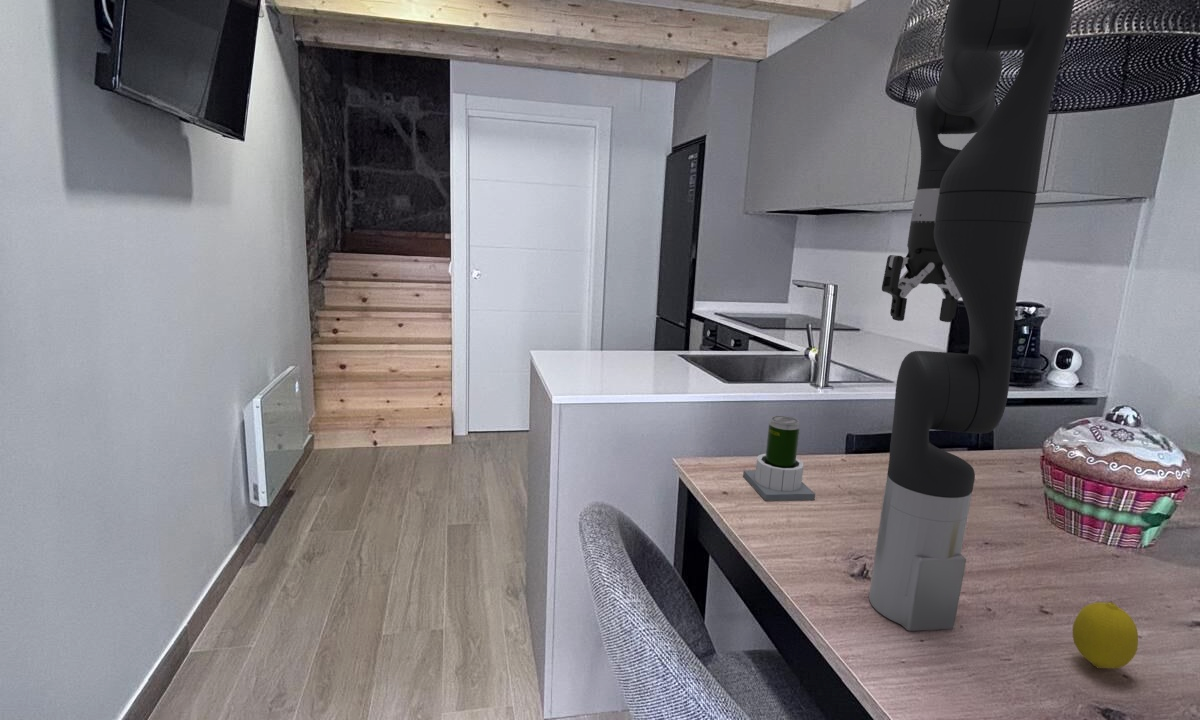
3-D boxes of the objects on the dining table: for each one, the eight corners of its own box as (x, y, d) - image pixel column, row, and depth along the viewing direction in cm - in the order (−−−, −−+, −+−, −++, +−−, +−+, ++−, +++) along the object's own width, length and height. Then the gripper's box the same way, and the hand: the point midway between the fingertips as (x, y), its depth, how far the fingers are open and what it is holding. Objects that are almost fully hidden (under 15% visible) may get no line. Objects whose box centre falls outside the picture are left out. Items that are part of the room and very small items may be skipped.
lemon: (1058, 646, 72) (1071, 585, 70) (1113, 657, 70) (1129, 594, 69) (1079, 677, 67) (1094, 612, 65) (1139, 690, 65) (1157, 624, 64)
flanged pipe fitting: (814, 500, 109) (817, 472, 108) (765, 501, 108) (768, 473, 107) (788, 475, 120) (790, 450, 119) (743, 476, 118) (745, 450, 117)
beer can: (783, 490, 110) (790, 426, 107) (757, 480, 114) (763, 419, 111) (798, 482, 113) (805, 420, 111) (773, 473, 117) (779, 413, 115)
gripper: (910, 217, 92) (895, 323, 96) (995, 221, 94) (977, 325, 98) (882, 218, 100) (868, 316, 103) (961, 221, 102) (945, 318, 105)
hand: (921, 320), depth 100 cm, fingers open, 8 cm apart
